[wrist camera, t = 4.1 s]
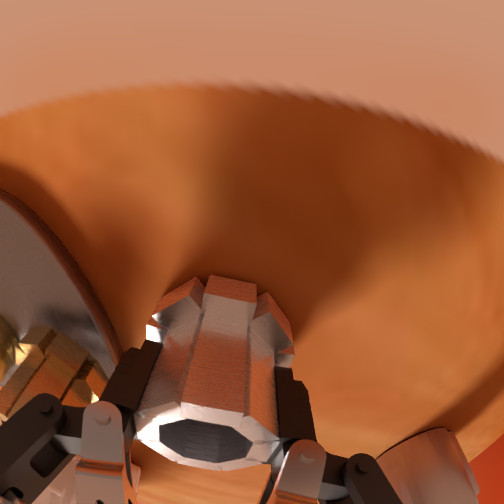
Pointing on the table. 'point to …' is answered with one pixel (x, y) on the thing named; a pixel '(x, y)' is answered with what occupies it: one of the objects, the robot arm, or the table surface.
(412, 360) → the table surface
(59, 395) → the seated gear
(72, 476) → the cable organizer
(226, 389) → the gear
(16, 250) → the carrier
